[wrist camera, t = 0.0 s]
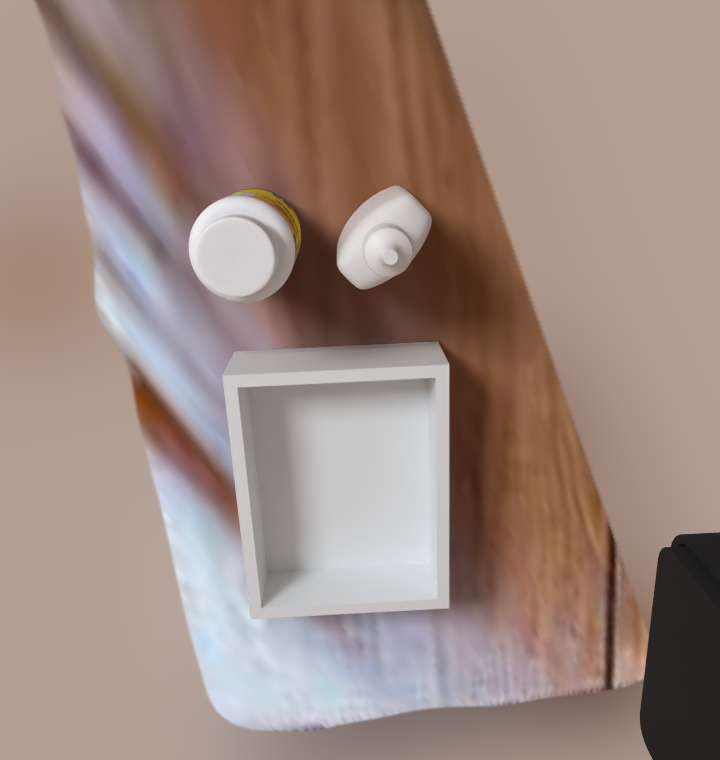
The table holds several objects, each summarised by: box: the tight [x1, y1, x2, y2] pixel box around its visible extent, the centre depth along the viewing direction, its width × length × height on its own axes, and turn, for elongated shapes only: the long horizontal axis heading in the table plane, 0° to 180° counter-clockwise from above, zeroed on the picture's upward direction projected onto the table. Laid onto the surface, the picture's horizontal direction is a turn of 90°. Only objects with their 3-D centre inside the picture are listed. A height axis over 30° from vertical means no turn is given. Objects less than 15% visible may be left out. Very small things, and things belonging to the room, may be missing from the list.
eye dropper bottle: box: [337, 186, 432, 289], centre depth 37 cm, size 4×6×12 cm
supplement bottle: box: [189, 189, 302, 303], centre depth 38 cm, size 6×6×10 cm
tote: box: [223, 341, 449, 619], centre depth 46 cm, size 18×14×5 cm
